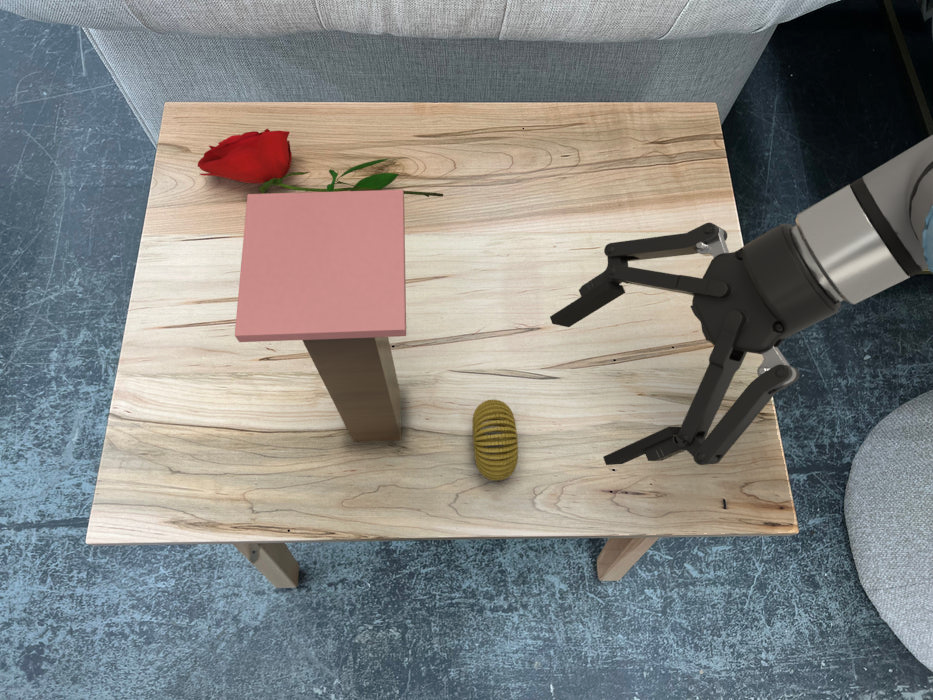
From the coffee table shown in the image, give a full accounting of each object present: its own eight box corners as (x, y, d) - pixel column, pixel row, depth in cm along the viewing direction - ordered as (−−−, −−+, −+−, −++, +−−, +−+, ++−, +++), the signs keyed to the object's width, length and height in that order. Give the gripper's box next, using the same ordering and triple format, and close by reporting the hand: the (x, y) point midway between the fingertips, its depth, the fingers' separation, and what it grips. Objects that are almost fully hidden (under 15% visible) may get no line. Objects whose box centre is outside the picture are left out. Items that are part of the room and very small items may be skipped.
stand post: (401, 439, 72) (365, 301, 42) (353, 441, 72) (283, 303, 42) (400, 394, 74) (366, 232, 44) (354, 396, 73) (287, 234, 44)
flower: (442, 135, 73) (180, 111, 77) (432, 224, 74) (173, 196, 78) (455, 153, 82) (220, 131, 86) (446, 232, 83) (213, 207, 87)
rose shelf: (406, 336, 41) (405, 329, 40) (239, 342, 41) (234, 335, 40) (404, 198, 45) (403, 189, 44) (251, 202, 45) (247, 193, 44)
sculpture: (515, 486, 70) (523, 468, 63) (476, 489, 70) (479, 472, 62) (507, 412, 73) (513, 386, 66) (469, 415, 73) (472, 389, 66)
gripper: (918, 424, 47) (658, 521, 59) (759, 144, 56) (561, 277, 68) (897, 423, 42) (614, 530, 54) (724, 113, 51) (515, 263, 63)
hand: (584, 388), depth 61 cm, fingers open, 13 cm apart
